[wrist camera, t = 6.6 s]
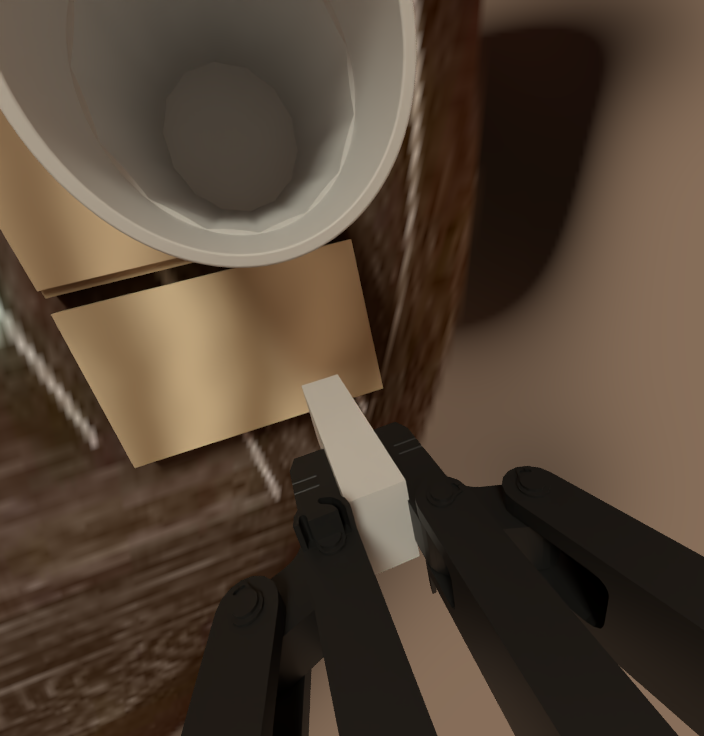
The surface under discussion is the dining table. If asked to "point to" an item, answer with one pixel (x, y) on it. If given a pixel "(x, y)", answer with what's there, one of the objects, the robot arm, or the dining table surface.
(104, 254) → the tan flat board
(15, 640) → the dining table surface
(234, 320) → the plank
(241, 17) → the cup
